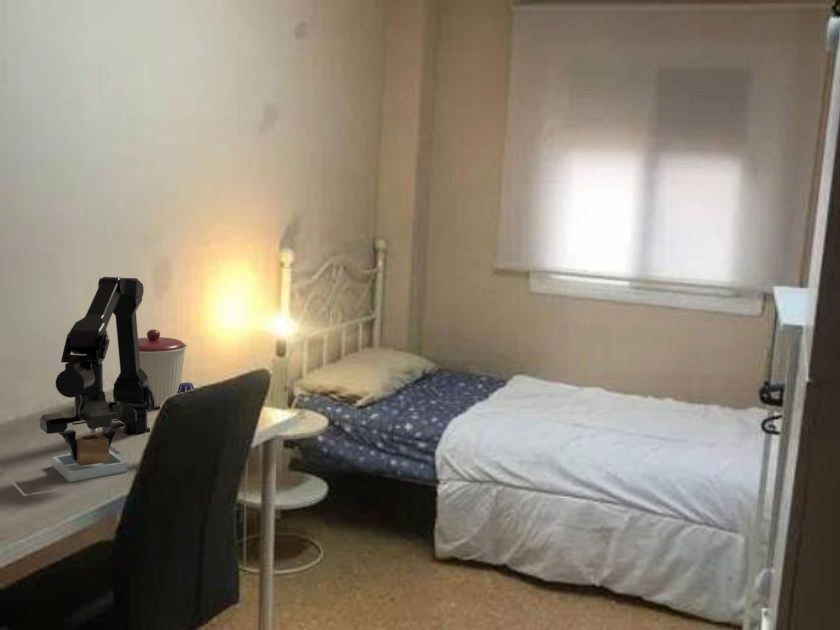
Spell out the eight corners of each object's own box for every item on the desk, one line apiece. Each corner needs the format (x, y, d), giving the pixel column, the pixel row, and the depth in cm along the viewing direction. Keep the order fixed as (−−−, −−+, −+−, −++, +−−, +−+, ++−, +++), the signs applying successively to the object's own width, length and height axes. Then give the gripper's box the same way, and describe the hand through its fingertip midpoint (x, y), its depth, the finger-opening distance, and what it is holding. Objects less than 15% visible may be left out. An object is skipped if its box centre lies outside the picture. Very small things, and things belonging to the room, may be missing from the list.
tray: (52, 468, 191) (51, 456, 191) (107, 459, 199) (107, 448, 198) (69, 483, 182) (68, 472, 182) (126, 473, 189) (126, 462, 189)
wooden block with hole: (68, 455, 192) (67, 433, 191) (96, 451, 195) (95, 429, 195) (80, 466, 185) (79, 443, 185) (109, 461, 189) (108, 438, 188)
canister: (201, 402, 251) (201, 329, 248) (151, 415, 236) (150, 337, 233) (157, 393, 261) (156, 322, 258) (106, 404, 246) (104, 329, 243)
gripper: (53, 399, 175) (56, 475, 177) (146, 388, 187) (147, 460, 189) (37, 388, 184) (40, 461, 186) (127, 378, 195) (128, 447, 197)
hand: (90, 457), depth 189 cm, fingers closed on wooden block with hole, 6 cm apart
